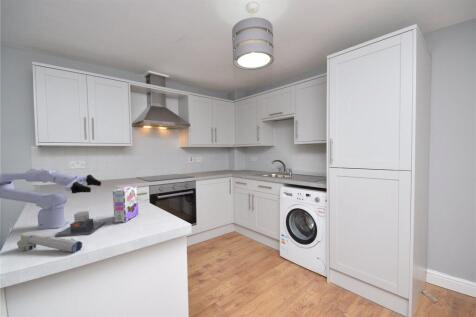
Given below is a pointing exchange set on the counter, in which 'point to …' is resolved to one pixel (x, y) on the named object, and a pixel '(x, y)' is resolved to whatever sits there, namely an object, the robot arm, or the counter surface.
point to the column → (81, 217)
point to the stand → (81, 228)
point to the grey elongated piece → (47, 242)
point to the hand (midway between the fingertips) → (95, 186)
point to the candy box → (125, 204)
